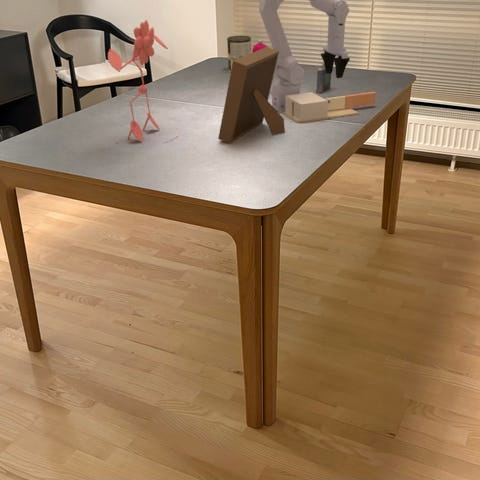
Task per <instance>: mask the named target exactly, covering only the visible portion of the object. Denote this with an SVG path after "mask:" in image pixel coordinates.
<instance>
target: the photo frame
mask: <svg viewBox="0 0 480 480" xmlns="http://www.w3.org/2000/svg"><path fill="white" fill-rule="evenodd" d="M278 55H279V51H277V50H274V49H273V47H268V46H267V47H265V48H263V49H260V50H258V51H256V52H253V53H252V52H251V54H248V55H246V56H244V57H241V58H239V59H236V60H234V61H233V64H232V69H231V72H230V75H229V80H228V85H227V91H226V96H225V103H224V107H223V112H222V118H221V123H220V127H219V134H218V139H219V141H223V142H224V143H227V144H232V143H234V142H236V141H238V140H239V139H240V138H242V137H244V136H245V135H247V134H249V133H250V132H252V131H253V130H255V129H257V128H259V127H260V126H262V125H263V123H264V120H265V122H266V124H267V126H268V128H269V131H270V133H271V135H272V136H274V135H275V134H276V135H279V133H280V134H284V133H285V132H286V131H285V119H284V117H283V116H282V115H281V114H280V112H279V111H277V110H276V109H274V107H273V106H272V103H270V102H269V97H270V94H271V93H270V92H271V87H272V85H273V79H274V75H275V73H276V63H277V59H278Z"/></svg>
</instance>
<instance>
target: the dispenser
mask: <svg viewBox="0 0 480 480" xmlns="http://www.w3.org/2000/svg"><path fill="white" fill-rule="evenodd" d="M325 98H326V97H323V96H321V95H319V93H317V92H314V91H313V92H312V91H309V92H303V93H301V92H300V94H293V95H286V96H285V112H282V114H283V115H285V117H287V118H289V119H290V120H292V121H294V122H295V123H297V124H303V123H307V122H315V121H321V119H323V120H329V119H328V118H330V119H335V117H336V118H341V116H343V117H348V116H349V115H350V116H355V115H357V116H358V115H359V111H356V110H354V109H352V107H350V108H343V109H336V110H329V111H328V103H330V101H329V100H327V99H325Z"/></svg>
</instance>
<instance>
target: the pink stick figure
mask: <svg viewBox="0 0 480 480" xmlns="http://www.w3.org/2000/svg"><path fill="white" fill-rule="evenodd" d="M149 25H150V24H149V22H148V20H144V22H143V21H142V22H140V24H139V26H138V27H137V26H136V27H135V28H134V29H133V35H134V38H135V40H134V42H133V51H132V52H133V53H132V55H133V56H132V58H131V59H129V60H128V61H127V62H126V63H125V64H123V61H122V58H121V56H120V54H119V53H118V51H116V50H114V49H112V48H110V49H108V52H107V60H108V63H109V64H110V66H111V67H112V68H113V69H115V70H116V71H117V72H118V73H121V70H123V69H124V68H125V67H126V66H127V65H128V64H130V63H131V62H133V63H134V64H135V66H136V67H137V68H138V70H139V72H140V77H141V81H142V84H141V85H140V86H138V94H136V96H134V97H133V98H132V100H130V101H129V103H130V110H131V115H132V120H131V122H130V131H129V134H128V136H127V139H128V138H129V139H130V137H131V135H132V134H133V136H134V137H135V138H136V139H137V140H138V142H140V143H142V141H143V136H144V135H143V131H145V130H146V128H147V127H146V126H147V125H148V122H149V120H150V121H151V123H152V124H153V125H154V127H155V128H156V129H158V130H160V127H159V125H158V123H157V122H156V121H155V119H154V118H153V116H152V115H151V110H150V105H149V98H148V94H147V93H148V87H147V86H146V85H145V82H144V81H145V80H144V73H143V70H142V68H141V66H144V64H148V63H149V57H153V56H154V55H155V50H154V48H153V45H154V42H155V41H156V42H157V43H158V44H159V45H161V47H163V48H164V49H166V50H168V49H169V48H168V47H167V45H165V43H164V42H163V41H162V40H161V39H160V38H159V37H158V36H157V35H156V34H155V28H154V27H153V26H152V27H151V28H150V26H149ZM137 60H139V64H140V66H139V64H138V63H137ZM140 95H145V98H146V102H147V103H146V104H147V109H148V112H147V113H146V115H147V117H146V121H145V122H144V125H143V127H142V128H141V126H140V124H138V122H137V121H135V117H134V111H133V110H134V109H133V105H132V102H133V101H134V100H136V99H137V98H138V97H140ZM176 130H177V131H179V130H178V128H176ZM177 138H178V137H174V138H173V139H171V140H168V141H164V144H166V143H169V142H171V141H173V140H175V139H176V140H177ZM115 144H117V145H119V143H117V142H115Z"/></svg>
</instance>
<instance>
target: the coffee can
mask: <svg viewBox="0 0 480 480" xmlns="http://www.w3.org/2000/svg"><path fill="white" fill-rule="evenodd" d="M226 40H227V63H228V66H227V68H228V73H231V69H232V64H233V61H234V60H236V59H239V58H241V57H244V56H246V55H248V54H251V53H252V49H251V48H252V41H251V40H252V37H251V36H249V35H231V36H229V37H227V38H226Z"/></svg>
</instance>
